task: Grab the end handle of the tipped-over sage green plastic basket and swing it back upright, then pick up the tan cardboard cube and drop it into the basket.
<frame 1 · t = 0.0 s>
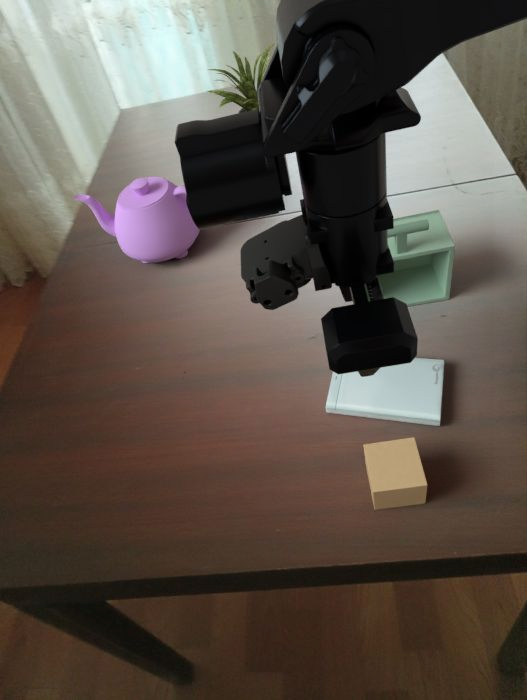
hand: (358, 335, 46), 14 cm above the table, tool pointing down, fingers open, 9 cm apart
house plant: (263, 138, 100), on the table
tan cardboard cube: (394, 483, 51), on the table
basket: (396, 253, 62), point 6 cm above the table, hinge at 90.0°
hard drive: (385, 391, 58), on the table
teapot: (162, 246, 85), on the table
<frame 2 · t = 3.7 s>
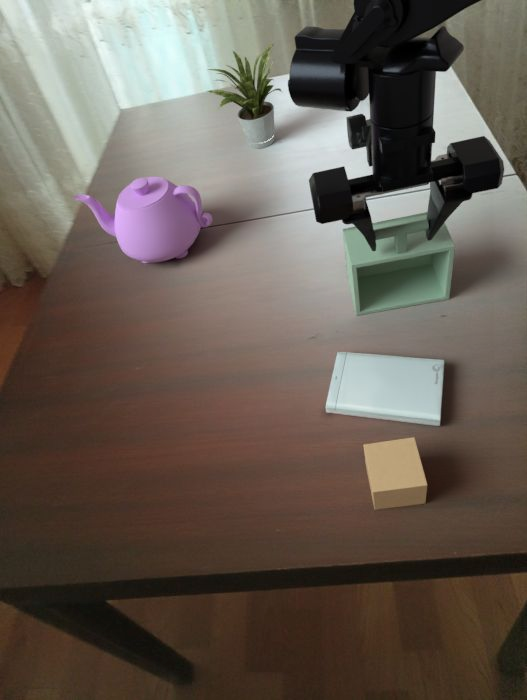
hand: (401, 243, 58), 10 cm above the table, tool pointing down, fingers closed on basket, 6 cm apart
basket: (396, 253, 62), point 6 cm above the table, hinge at 90.0°, touching gripper
everything else where it was.
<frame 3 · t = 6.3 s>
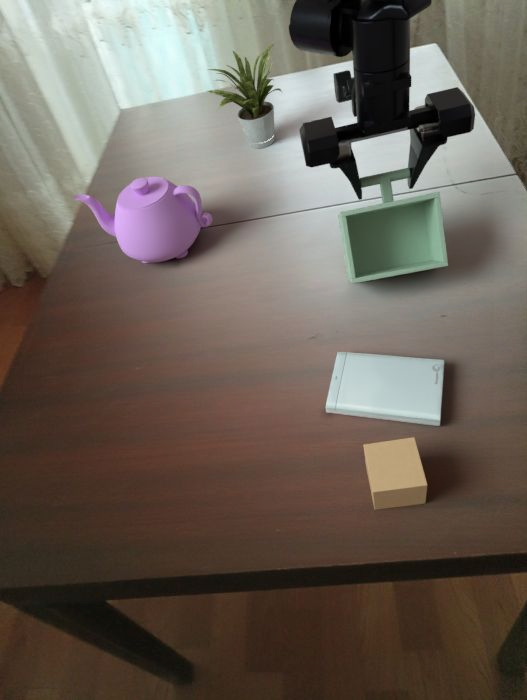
hand: (385, 192, 63), 11 cm above the table, tool pointing down, fingers closed on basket, 6 cm apart
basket: (388, 225, 65), point 7 cm above the table, hinge at 50.7°, touching gripper
everything else where it was.
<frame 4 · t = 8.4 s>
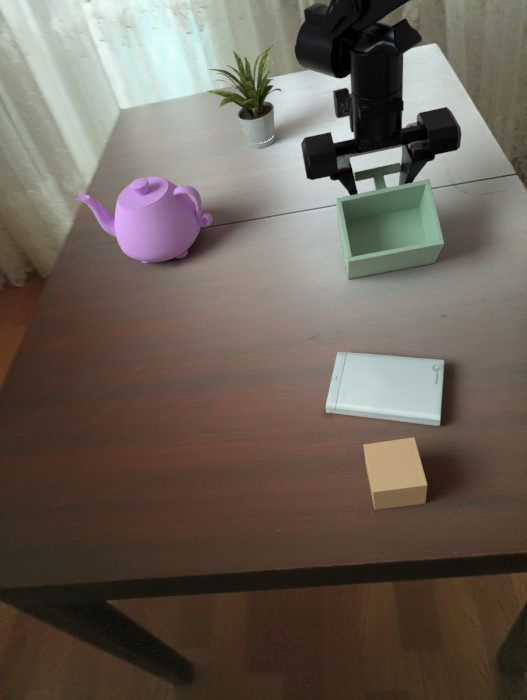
hand: (378, 200, 68), 7 cm above the table, tool pointing down, fingers closed on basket, 6 cm apart
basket: (384, 219, 67), point 6 cm above the table, hinge at 27.4°, touching gripper
everything else where it was.
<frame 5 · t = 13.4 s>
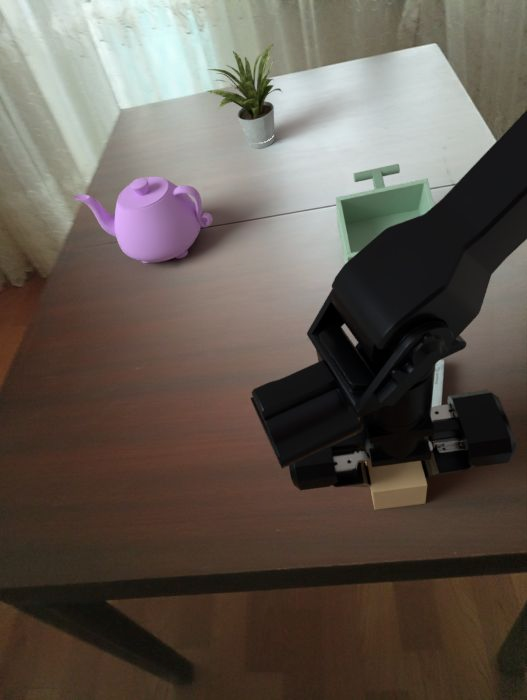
hand: (394, 478, 50), 1 cm above the table, tool pointing down, fingers closed on tan cardboard cube, 5 cm apart
tan cardboard cube: (394, 483, 51), on the table, touching gripper
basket: (383, 219, 68), point 6 cm above the table, hinge at 22.7°
everything else where it was.
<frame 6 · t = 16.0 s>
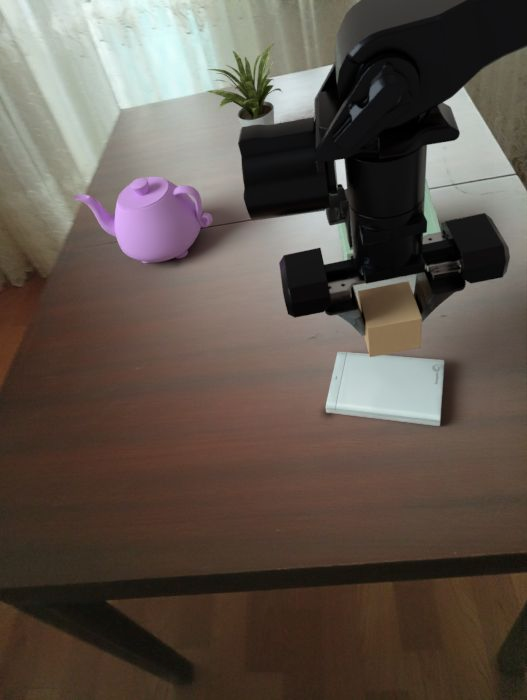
hand: (389, 327, 50), 11 cm above the table, tool pointing down, fingers closed on tan cardboard cube, 5 cm apart
tan cardboard cube: (389, 334, 51), point 10 cm above the table, touching gripper
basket: (383, 219, 68), point 5 cm above the table, hinge at 18.7°
everything else where it was.
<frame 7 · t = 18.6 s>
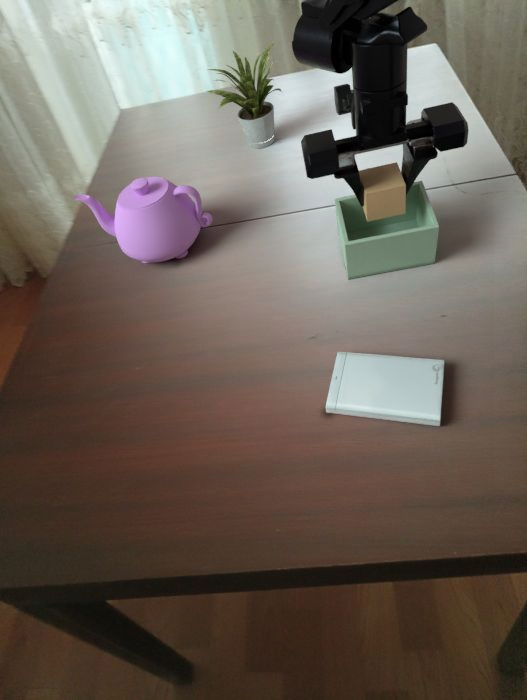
hand: (382, 200, 66), 9 cm above the table, tool pointing down, fingers closed on tan cardboard cube, 5 cm apart
tan cardboard cube: (382, 206, 67), point 8 cm above the table, touching gripper
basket: (381, 221, 70), point 4 cm above the table, hinge at 6.5°
everything else where it was.
when the fingers open (9 cm above the table, at t = 18.7 s): tan cardboard cube drops 7 cm, resting on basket.
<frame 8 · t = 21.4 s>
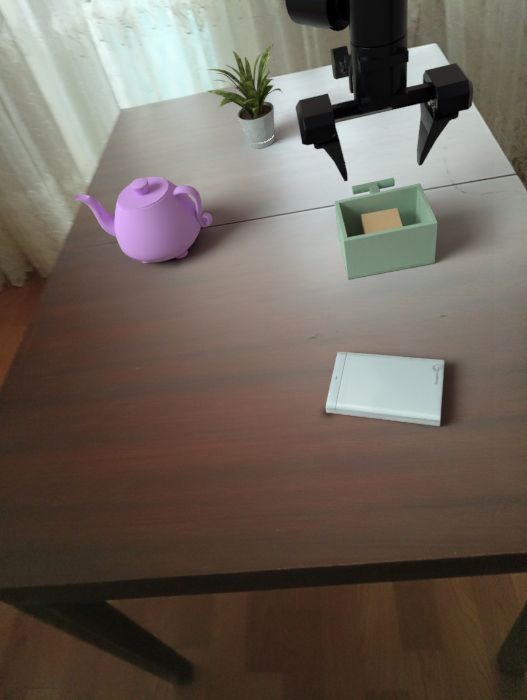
hand: (382, 171, 62), 13 cm above the table, tool pointing down, fingers open, 9 cm apart
tan cardboard cube: (382, 247, 72), point 1 cm above the table, touching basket
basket: (381, 223, 71), point 3 cm above the table, hinge at 0.0°, touching tan cardboard cube
everything else where it was.
at the end: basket at +0° (first picture: +90°); tan cardboard cube inside the target area on the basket (0.3 cm from its centre), point 0.6 cm above the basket's base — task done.
